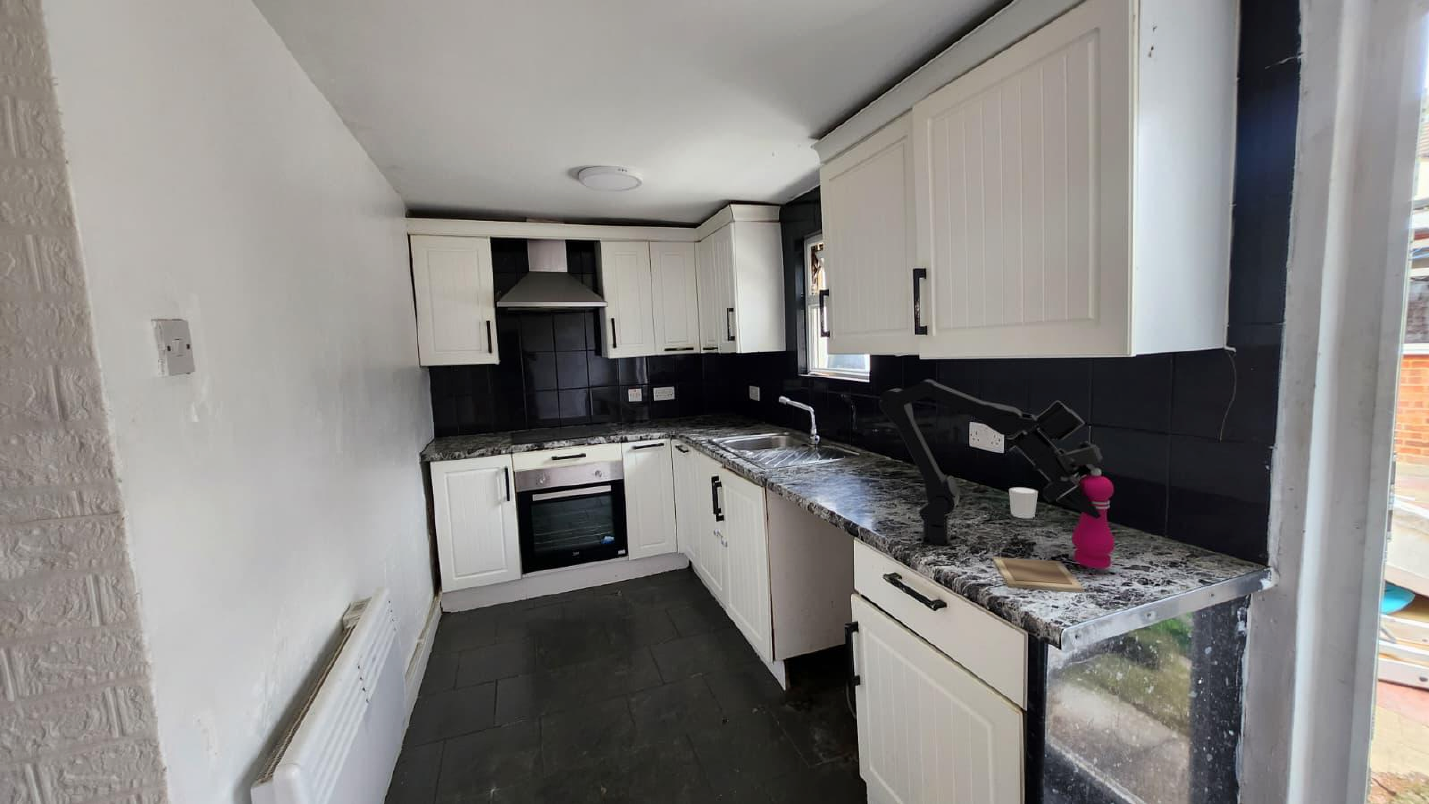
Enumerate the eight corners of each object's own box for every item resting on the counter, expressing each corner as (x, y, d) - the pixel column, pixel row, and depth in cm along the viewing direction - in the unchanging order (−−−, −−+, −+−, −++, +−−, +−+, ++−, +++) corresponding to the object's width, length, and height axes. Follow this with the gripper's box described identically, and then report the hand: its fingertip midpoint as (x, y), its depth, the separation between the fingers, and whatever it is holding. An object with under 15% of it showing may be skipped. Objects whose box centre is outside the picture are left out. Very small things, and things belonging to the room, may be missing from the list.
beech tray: (992, 560, 117) (992, 556, 117) (1059, 564, 113) (1060, 560, 113) (1008, 587, 104) (1008, 582, 104) (1084, 592, 101) (1084, 587, 101)
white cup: (1043, 518, 141) (1043, 493, 141) (1017, 519, 141) (1017, 494, 141) (1028, 510, 148) (1028, 486, 147) (1003, 511, 148) (1003, 487, 147)
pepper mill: (1095, 554, 114) (1100, 463, 112) (1122, 568, 107) (1127, 471, 104) (1062, 556, 114) (1066, 464, 111) (1087, 570, 106) (1092, 473, 104)
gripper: (1063, 437, 103) (1131, 503, 97) (1085, 424, 116) (1146, 481, 110) (1017, 470, 110) (1078, 534, 103) (1043, 455, 123) (1098, 511, 116)
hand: (1102, 514), depth 108 cm, fingers closed on pepper mill, 5 cm apart
